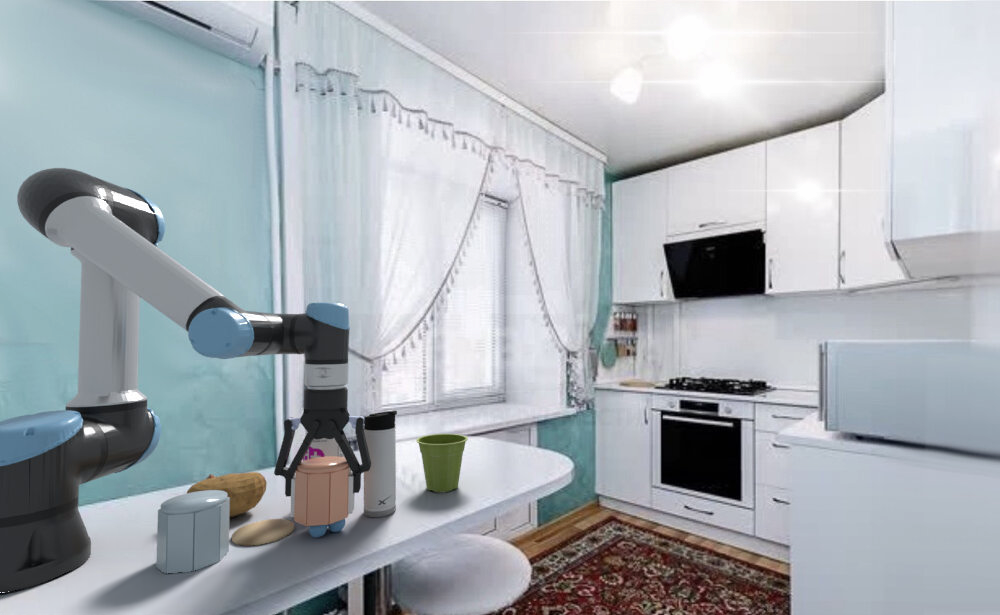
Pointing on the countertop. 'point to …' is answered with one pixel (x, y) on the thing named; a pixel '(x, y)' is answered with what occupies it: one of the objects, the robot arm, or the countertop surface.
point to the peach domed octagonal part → (321, 491)
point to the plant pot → (442, 460)
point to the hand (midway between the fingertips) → (323, 512)
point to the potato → (236, 490)
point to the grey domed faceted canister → (192, 531)
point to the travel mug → (380, 464)
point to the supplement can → (323, 449)
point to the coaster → (262, 532)
